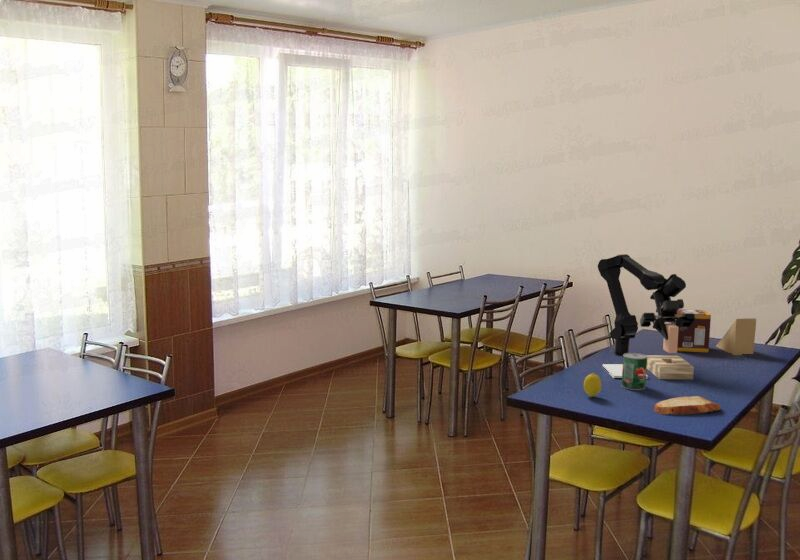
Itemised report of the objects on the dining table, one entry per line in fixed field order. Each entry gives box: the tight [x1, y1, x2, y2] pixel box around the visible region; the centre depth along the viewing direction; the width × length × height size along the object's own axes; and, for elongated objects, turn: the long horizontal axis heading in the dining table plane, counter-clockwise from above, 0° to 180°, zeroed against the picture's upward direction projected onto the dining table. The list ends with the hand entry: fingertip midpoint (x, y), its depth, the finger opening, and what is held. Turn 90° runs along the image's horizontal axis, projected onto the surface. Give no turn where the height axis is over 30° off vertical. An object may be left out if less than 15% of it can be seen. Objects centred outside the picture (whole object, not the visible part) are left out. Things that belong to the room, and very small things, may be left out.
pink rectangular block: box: [662, 323, 679, 354], centre depth 282 cm, size 6×3×10 cm, turn 0°
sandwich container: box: [715, 317, 757, 356], centre depth 318 cm, size 9×15×15 cm, turn 5°
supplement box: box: [665, 308, 712, 353], centre depth 320 cm, size 10×15×16 cm
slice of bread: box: [653, 395, 722, 416], centre depth 242 cm, size 18×18×4 cm
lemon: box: [583, 372, 602, 398], centre depth 254 cm, size 6×6×8 cm
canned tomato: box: [621, 352, 648, 391], centre depth 265 cm, size 8×8×11 cm
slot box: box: [645, 354, 695, 380], centre depth 283 cm, size 16×12×4 cm
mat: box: [601, 363, 649, 380], centre depth 284 cm, size 16×12×1 cm
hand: (672, 339), depth 280 cm, fingers closed on pink rectangular block, 3 cm apart
